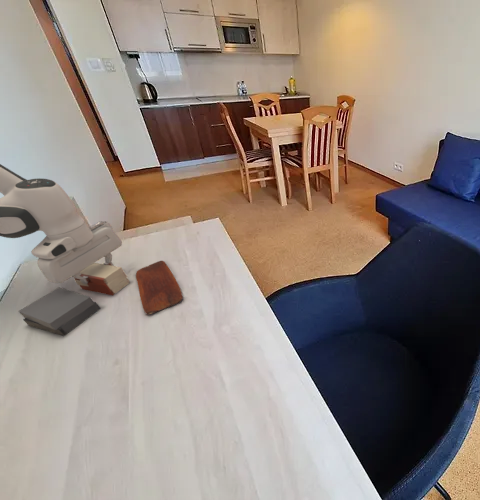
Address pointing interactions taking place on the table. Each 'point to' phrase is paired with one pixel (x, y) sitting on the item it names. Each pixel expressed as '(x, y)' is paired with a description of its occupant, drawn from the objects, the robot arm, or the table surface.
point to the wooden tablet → (157, 287)
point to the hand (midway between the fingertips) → (98, 274)
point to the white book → (101, 273)
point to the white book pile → (106, 289)
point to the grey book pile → (59, 311)
